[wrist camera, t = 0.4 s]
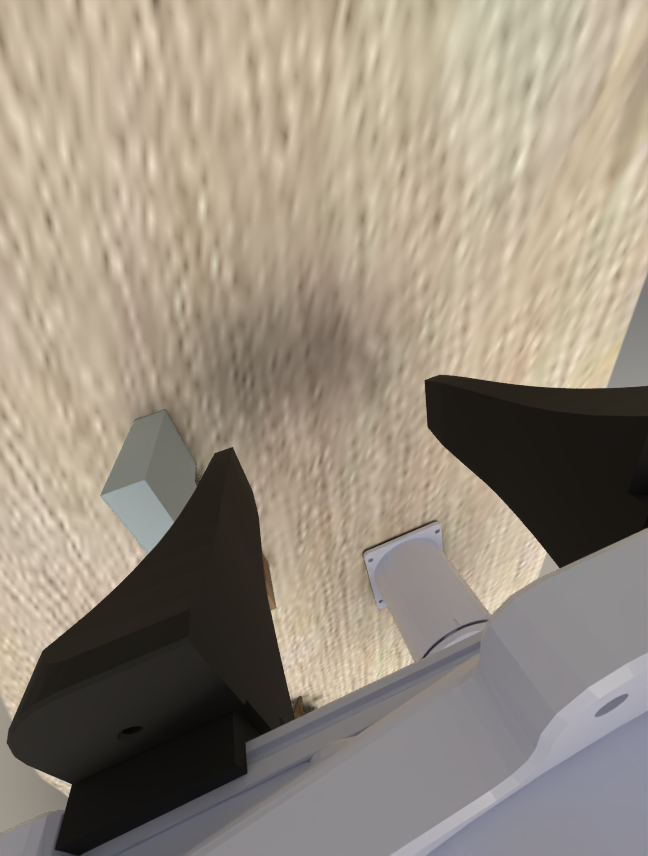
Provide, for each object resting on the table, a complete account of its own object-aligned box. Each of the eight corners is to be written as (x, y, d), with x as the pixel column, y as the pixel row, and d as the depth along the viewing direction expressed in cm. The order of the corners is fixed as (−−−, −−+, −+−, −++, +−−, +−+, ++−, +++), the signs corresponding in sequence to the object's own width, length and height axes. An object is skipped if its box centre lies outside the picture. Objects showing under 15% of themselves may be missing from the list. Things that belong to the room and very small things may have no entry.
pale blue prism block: (239, 540, 26) (247, 626, 20) (217, 548, 26) (218, 639, 20) (165, 409, 19) (144, 479, 14) (134, 419, 19) (100, 495, 13)
